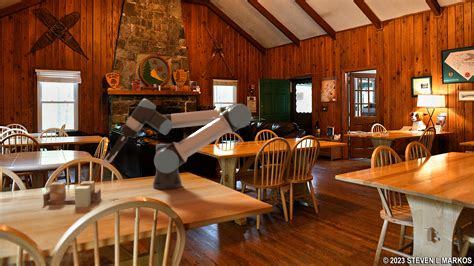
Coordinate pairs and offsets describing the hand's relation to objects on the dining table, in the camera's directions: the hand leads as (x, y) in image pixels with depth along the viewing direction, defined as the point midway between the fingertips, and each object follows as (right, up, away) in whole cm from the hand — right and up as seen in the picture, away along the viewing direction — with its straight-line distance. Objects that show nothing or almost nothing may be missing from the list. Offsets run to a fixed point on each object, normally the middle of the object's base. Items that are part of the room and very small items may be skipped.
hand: (105, 163), depth 172 cm
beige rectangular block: (-3, -17, -19) cm, 25 cm away
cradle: (-10, -16, -12) cm, 23 cm away
